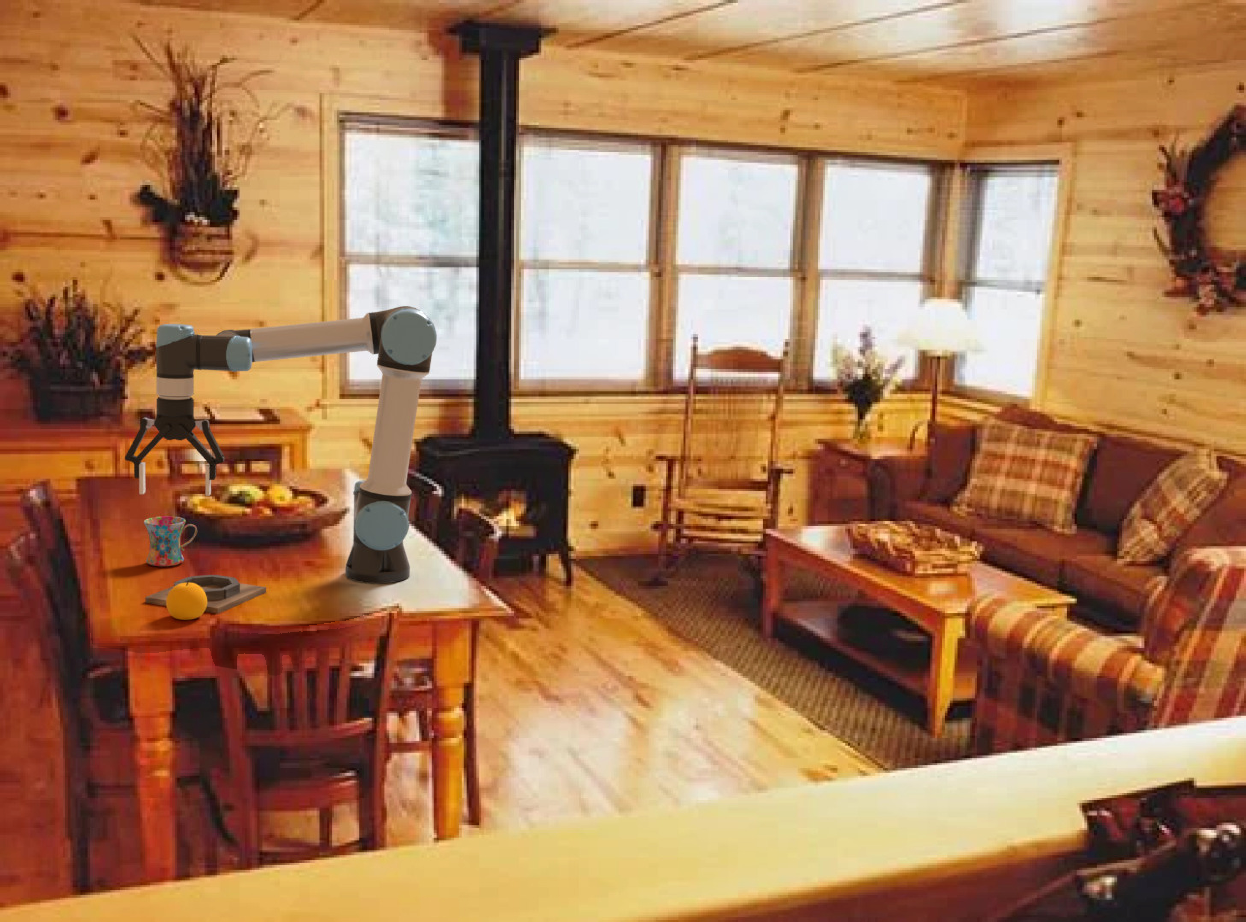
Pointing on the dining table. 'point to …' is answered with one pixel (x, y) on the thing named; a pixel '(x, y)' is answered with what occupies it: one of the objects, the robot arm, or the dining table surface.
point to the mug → (166, 540)
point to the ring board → (214, 603)
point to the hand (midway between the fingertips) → (175, 494)
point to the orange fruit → (186, 601)
